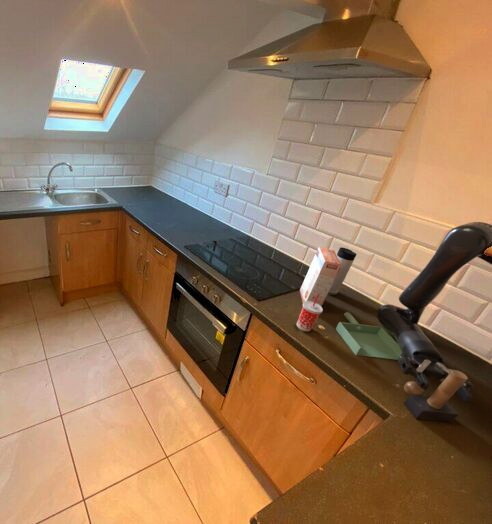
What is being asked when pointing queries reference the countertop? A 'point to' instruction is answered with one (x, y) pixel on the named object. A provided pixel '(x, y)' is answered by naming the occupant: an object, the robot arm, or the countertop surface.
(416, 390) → the cork ball
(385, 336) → the dustpan
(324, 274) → the cracker box
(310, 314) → the beverage cup
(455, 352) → the countertop surface
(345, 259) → the travel mug
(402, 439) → the countertop surface
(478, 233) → the robot arm
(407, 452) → the countertop surface
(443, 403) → the brush
